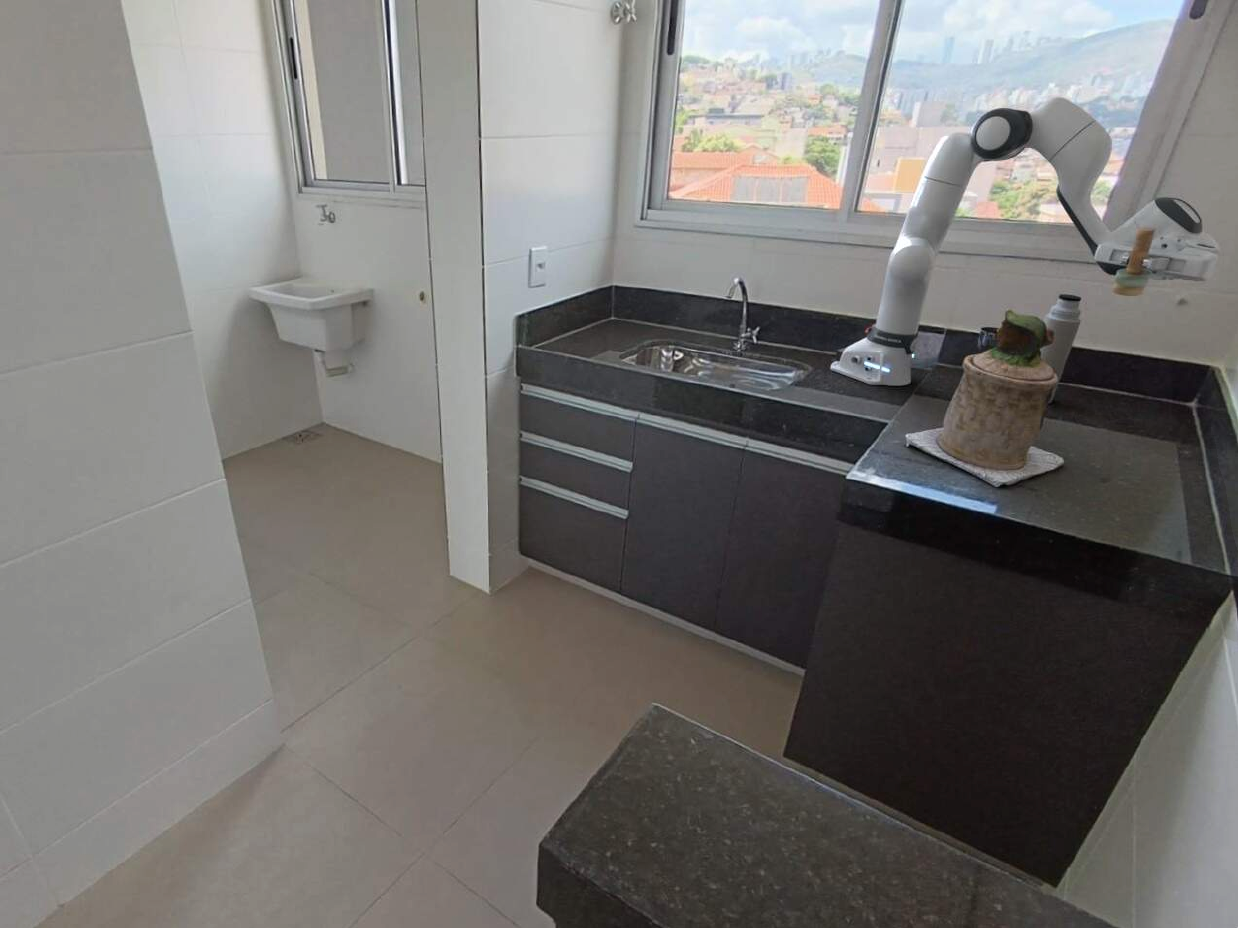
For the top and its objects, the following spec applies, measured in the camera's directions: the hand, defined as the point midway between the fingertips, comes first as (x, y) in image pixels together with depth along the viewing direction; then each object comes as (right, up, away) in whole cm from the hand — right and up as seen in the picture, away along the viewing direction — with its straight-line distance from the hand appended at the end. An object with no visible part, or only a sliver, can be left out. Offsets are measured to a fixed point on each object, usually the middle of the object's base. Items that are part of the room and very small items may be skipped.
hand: (1135, 261), depth 134 cm
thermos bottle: (+11, -22, +51) cm, 57 cm away
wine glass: (+2, -17, +61) cm, 64 cm away
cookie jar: (-22, -38, +16) cm, 47 cm away
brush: (+1, -5, +4) cm, 6 cm away
